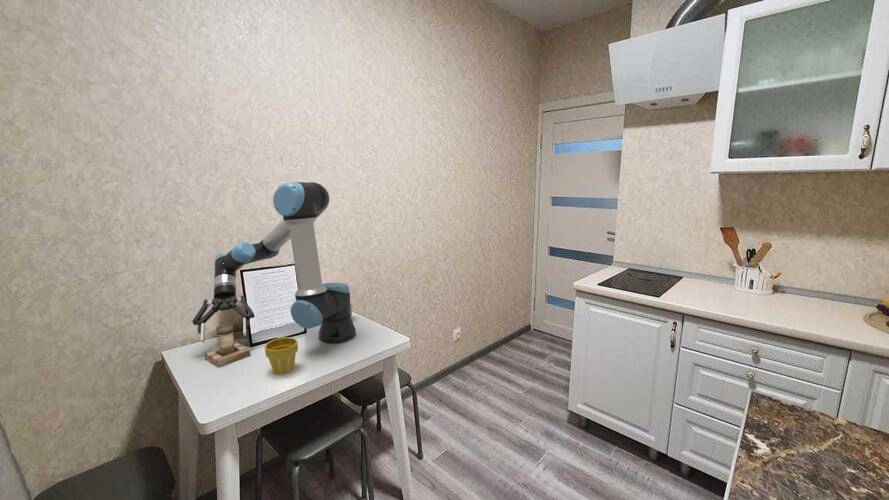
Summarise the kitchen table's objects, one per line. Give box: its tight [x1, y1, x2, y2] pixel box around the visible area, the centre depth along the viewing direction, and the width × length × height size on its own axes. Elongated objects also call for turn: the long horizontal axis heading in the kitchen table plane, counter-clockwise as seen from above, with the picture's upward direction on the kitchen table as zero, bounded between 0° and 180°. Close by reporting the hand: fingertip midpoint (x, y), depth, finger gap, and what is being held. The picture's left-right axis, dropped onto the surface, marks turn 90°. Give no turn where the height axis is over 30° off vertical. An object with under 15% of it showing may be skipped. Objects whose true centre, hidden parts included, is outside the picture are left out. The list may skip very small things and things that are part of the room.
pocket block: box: [203, 342, 251, 368], centre depth 134 cm, size 11×11×2 cm
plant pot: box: [264, 336, 299, 375], centre depth 125 cm, size 10×10×10 cm
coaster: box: [234, 338, 249, 346], centre depth 146 cm, size 7×7×1 cm
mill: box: [215, 323, 235, 356], centre depth 133 cm, size 5×5×12 cm
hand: (224, 338), depth 134 cm, fingers open, 13 cm apart
